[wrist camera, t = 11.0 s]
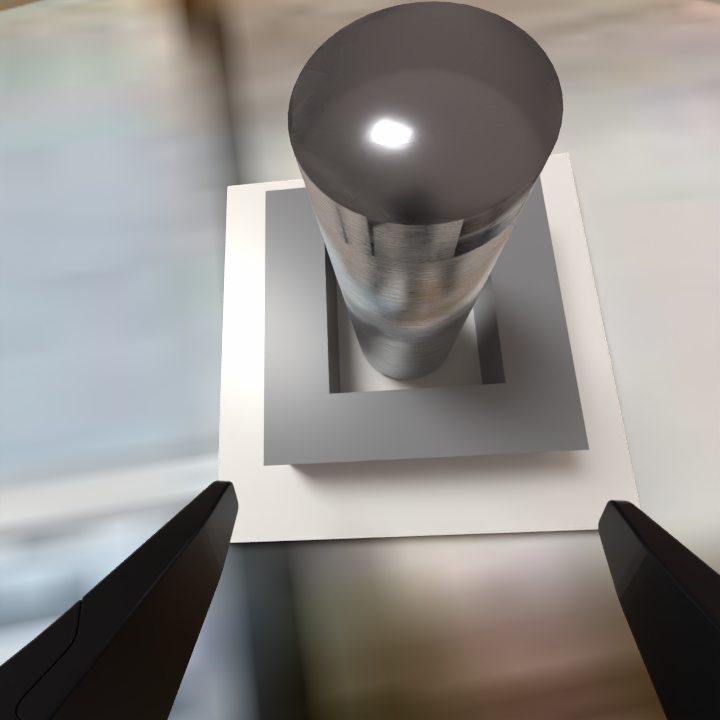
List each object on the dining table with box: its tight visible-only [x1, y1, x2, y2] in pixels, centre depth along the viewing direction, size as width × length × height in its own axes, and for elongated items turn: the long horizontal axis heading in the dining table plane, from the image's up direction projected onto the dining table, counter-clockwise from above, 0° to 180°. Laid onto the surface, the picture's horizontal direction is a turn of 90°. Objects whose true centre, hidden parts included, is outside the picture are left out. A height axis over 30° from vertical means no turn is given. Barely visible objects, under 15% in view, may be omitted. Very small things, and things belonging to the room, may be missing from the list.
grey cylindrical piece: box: [288, 2, 563, 380], centre depth 13 cm, size 4×4×12 cm
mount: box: [218, 153, 641, 543], centre depth 17 cm, size 18×18×4 cm
